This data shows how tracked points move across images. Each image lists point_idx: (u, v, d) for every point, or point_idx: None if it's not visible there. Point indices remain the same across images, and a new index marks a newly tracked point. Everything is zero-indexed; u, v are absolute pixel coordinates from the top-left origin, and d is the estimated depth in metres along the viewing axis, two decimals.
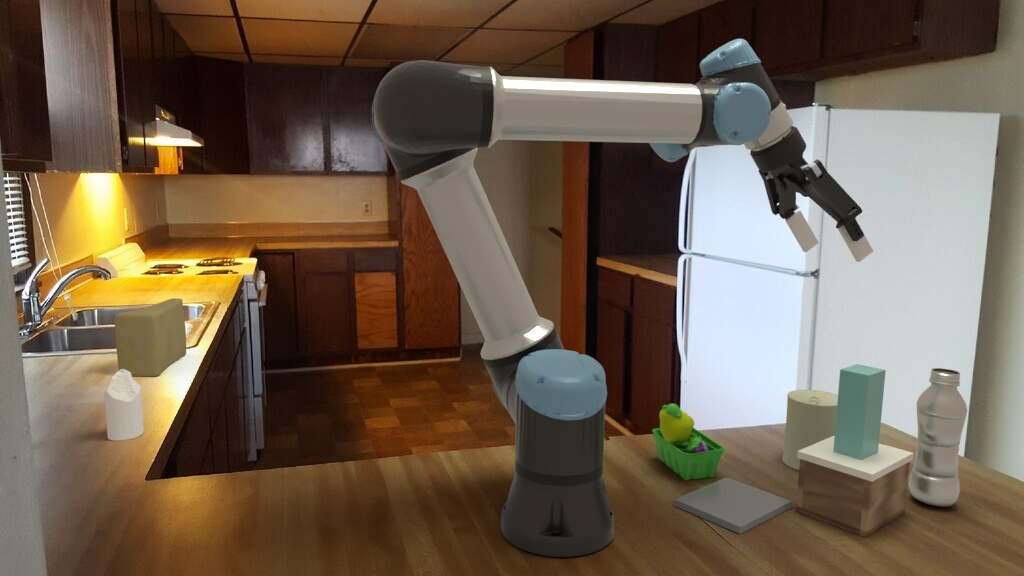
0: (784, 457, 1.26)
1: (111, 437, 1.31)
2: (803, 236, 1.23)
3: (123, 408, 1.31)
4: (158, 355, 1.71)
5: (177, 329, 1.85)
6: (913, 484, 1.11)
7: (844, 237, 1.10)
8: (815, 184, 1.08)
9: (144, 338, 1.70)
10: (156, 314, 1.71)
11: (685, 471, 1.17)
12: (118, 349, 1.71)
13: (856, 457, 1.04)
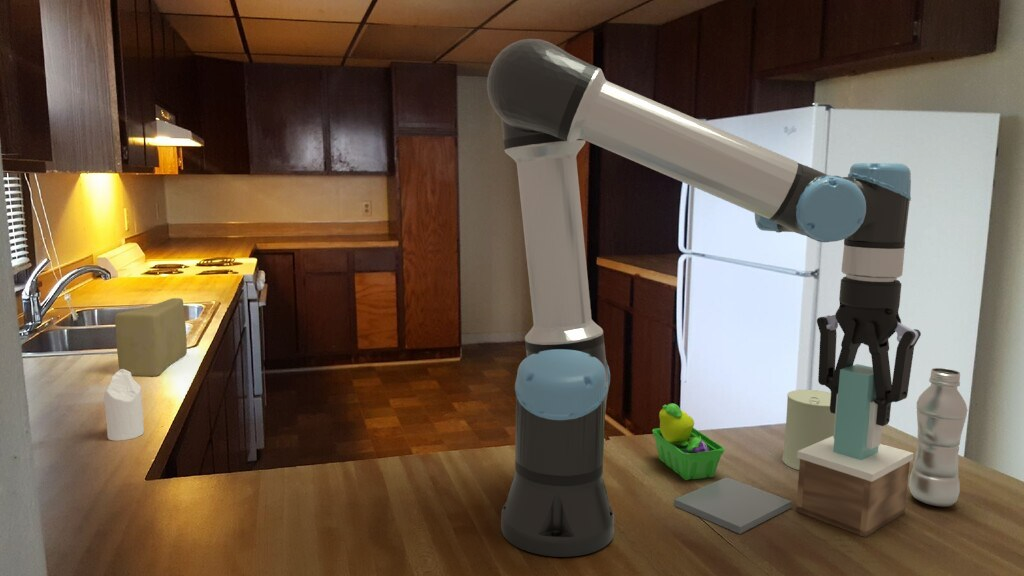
0: (784, 457, 1.26)
1: (111, 437, 1.31)
2: None
3: (123, 408, 1.31)
4: (158, 355, 1.71)
5: (177, 329, 1.85)
6: (913, 484, 1.11)
7: (872, 417, 1.03)
8: (903, 351, 0.99)
9: (144, 337, 1.70)
10: (156, 314, 1.71)
11: (685, 471, 1.17)
12: (119, 349, 1.71)
13: (856, 457, 1.04)
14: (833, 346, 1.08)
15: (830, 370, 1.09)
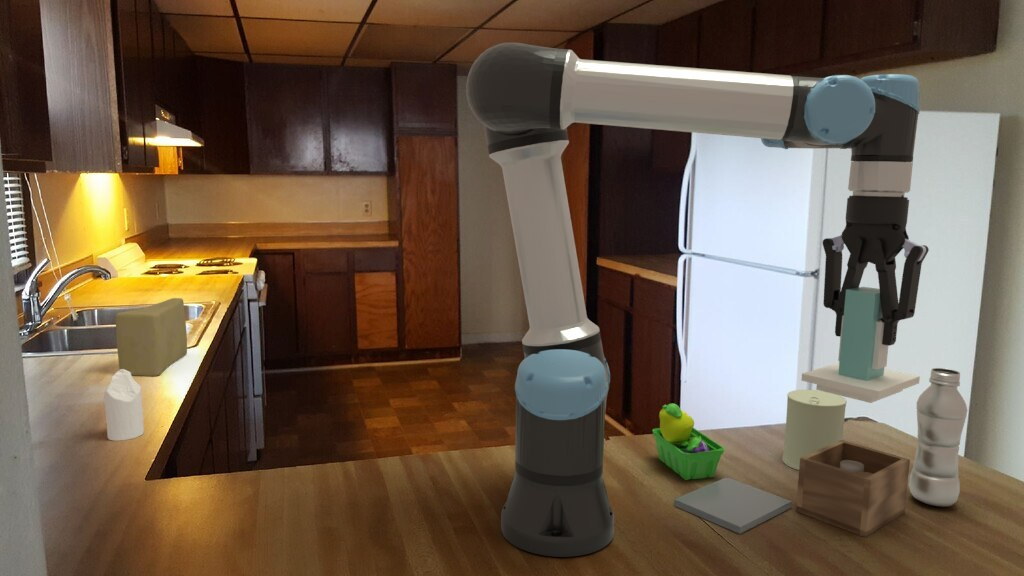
0: (784, 457, 1.26)
1: (111, 437, 1.31)
2: None
3: (123, 408, 1.31)
4: (159, 355, 1.72)
5: (177, 329, 1.85)
6: (913, 484, 1.11)
7: (878, 336, 1.01)
8: (910, 266, 0.97)
9: (145, 337, 1.70)
10: (157, 314, 1.71)
11: (685, 471, 1.17)
12: (119, 349, 1.71)
13: (861, 378, 1.02)
14: (839, 268, 1.06)
15: (835, 293, 1.07)
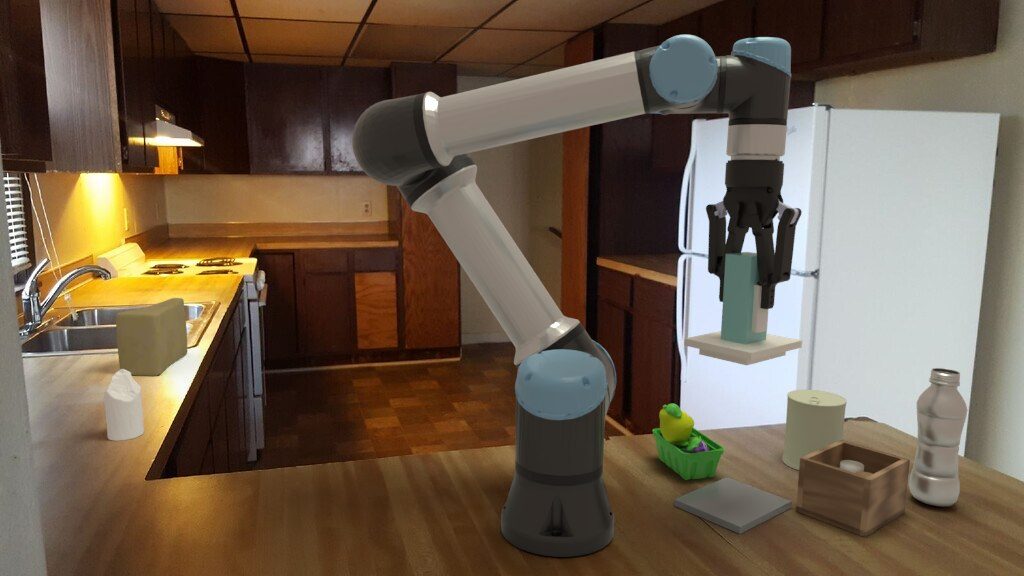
0: (784, 457, 1.26)
1: (111, 437, 1.31)
2: None
3: (123, 408, 1.31)
4: (159, 355, 1.72)
5: (178, 328, 1.85)
6: (913, 484, 1.11)
7: (756, 300, 1.01)
8: (783, 229, 0.98)
9: (145, 337, 1.70)
10: (157, 314, 1.71)
11: (685, 471, 1.17)
12: (119, 348, 1.71)
13: (741, 342, 1.02)
14: (722, 234, 1.07)
15: (720, 259, 1.08)
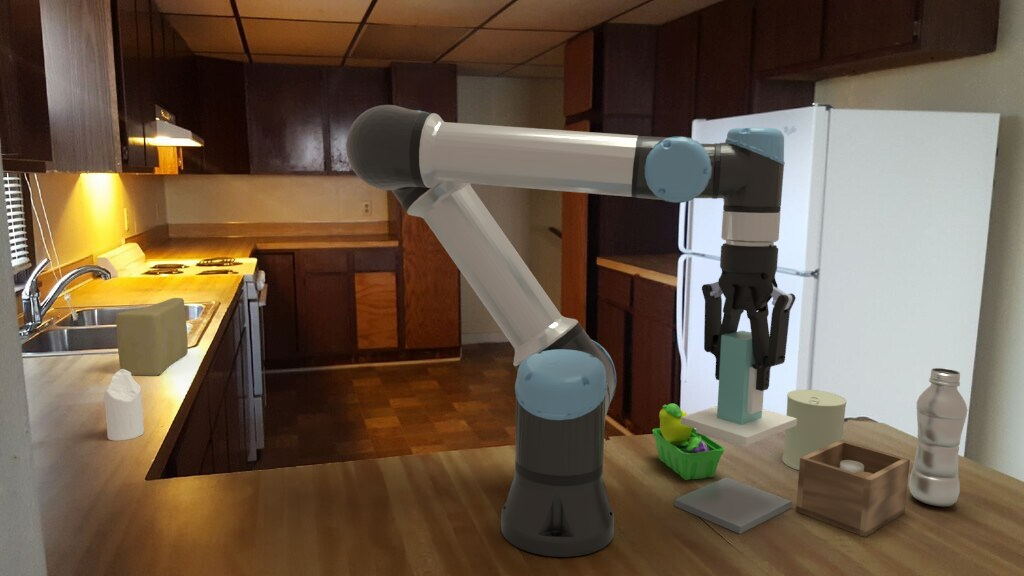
0: (784, 457, 1.26)
1: (111, 437, 1.31)
2: None
3: (123, 408, 1.31)
4: (159, 354, 1.72)
5: (178, 328, 1.85)
6: (913, 484, 1.11)
7: (751, 382, 1.03)
8: (777, 315, 0.99)
9: (145, 337, 1.71)
10: (157, 313, 1.72)
11: (685, 471, 1.17)
12: (119, 348, 1.71)
13: (736, 422, 1.04)
14: (718, 313, 1.08)
15: (716, 337, 1.09)
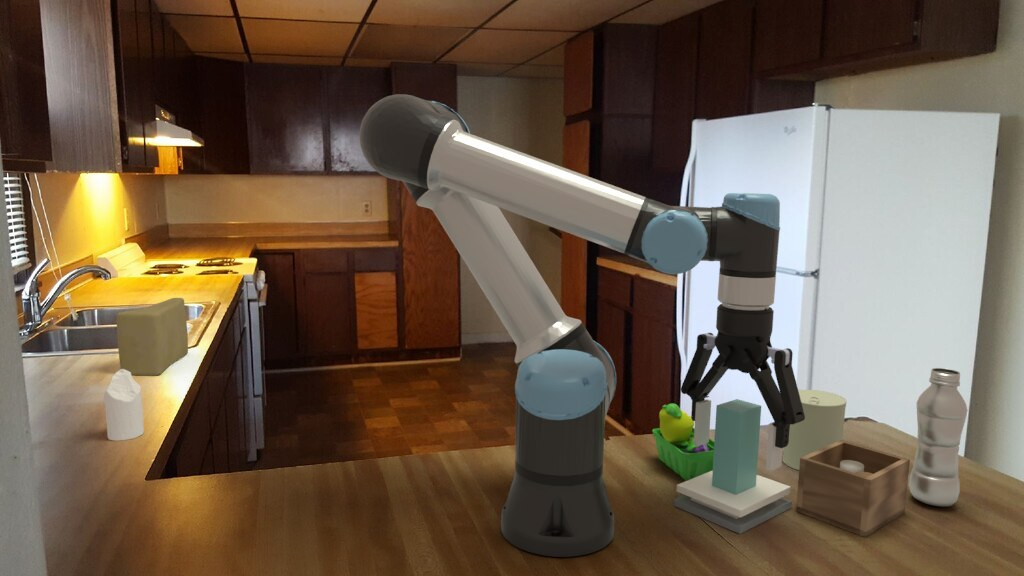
0: (784, 457, 1.26)
1: (111, 437, 1.31)
2: (702, 428, 1.11)
3: (123, 408, 1.31)
4: (159, 354, 1.72)
5: (178, 328, 1.86)
6: (913, 484, 1.11)
7: (770, 439, 1.01)
8: (780, 371, 1.00)
9: (145, 337, 1.71)
10: (157, 313, 1.72)
11: (685, 471, 1.17)
12: (120, 348, 1.72)
13: (731, 491, 1.06)
14: (705, 362, 1.11)
15: (695, 381, 1.13)
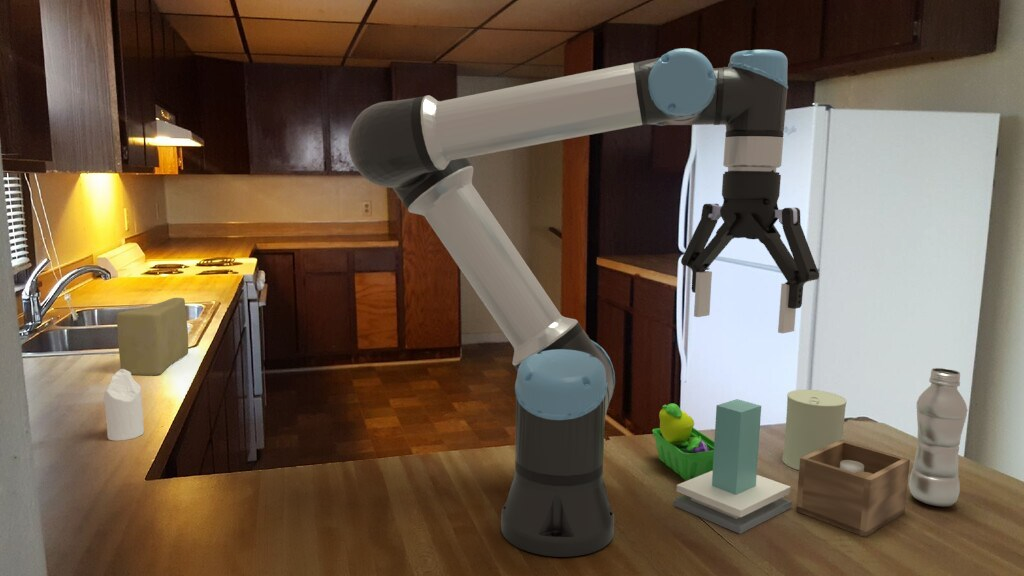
0: (784, 457, 1.26)
1: (111, 437, 1.31)
2: (703, 299, 1.09)
3: (123, 408, 1.31)
4: (160, 354, 1.72)
5: (179, 328, 1.86)
6: (913, 484, 1.11)
7: (783, 299, 0.98)
8: (789, 228, 0.97)
9: (146, 337, 1.71)
10: (158, 313, 1.72)
11: (685, 471, 1.17)
12: (120, 348, 1.72)
13: (731, 491, 1.06)
14: (708, 234, 1.09)
15: (696, 254, 1.11)
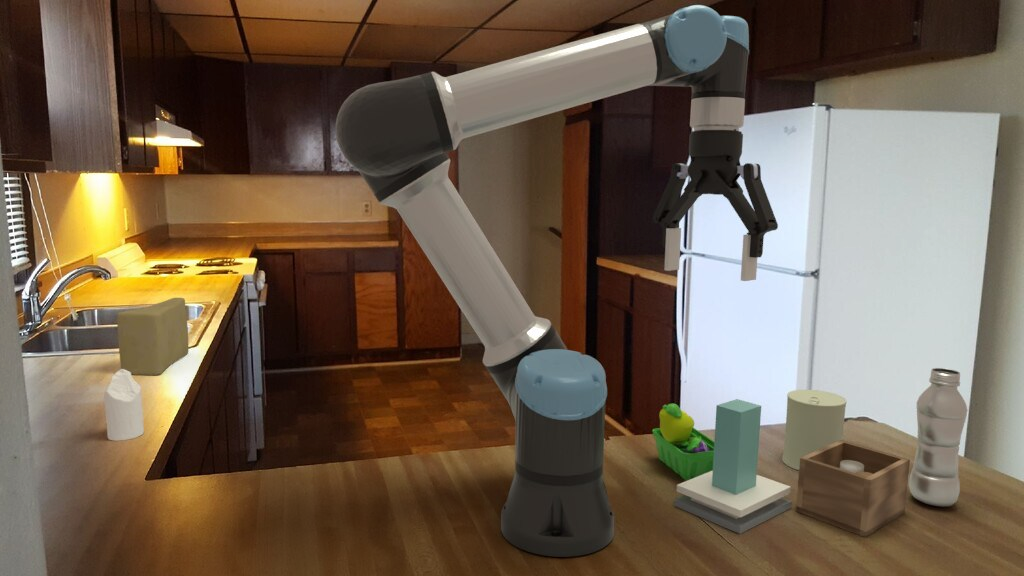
0: (784, 457, 1.26)
1: (111, 437, 1.31)
2: (672, 253, 1.16)
3: (123, 408, 1.31)
4: (160, 354, 1.72)
5: (179, 328, 1.86)
6: (913, 484, 1.11)
7: (745, 249, 1.05)
8: (749, 182, 1.04)
9: (146, 336, 1.71)
10: (158, 313, 1.72)
11: (685, 471, 1.17)
12: (120, 348, 1.72)
13: (731, 491, 1.06)
14: (677, 192, 1.16)
15: (667, 212, 1.18)
